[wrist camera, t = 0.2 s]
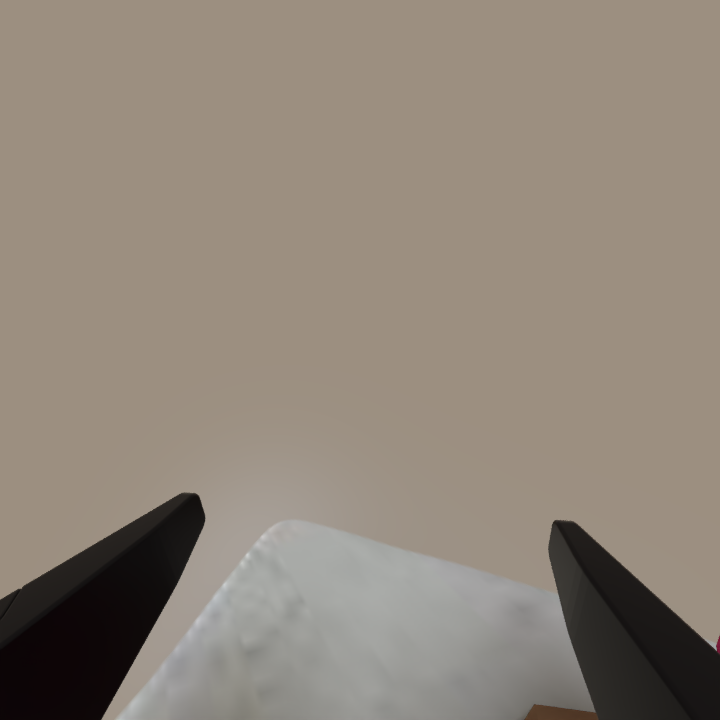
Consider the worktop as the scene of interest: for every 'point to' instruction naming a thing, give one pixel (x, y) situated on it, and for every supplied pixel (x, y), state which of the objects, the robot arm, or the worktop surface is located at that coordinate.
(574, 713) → the walnut holder ring
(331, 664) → the worktop surface
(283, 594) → the worktop surface
